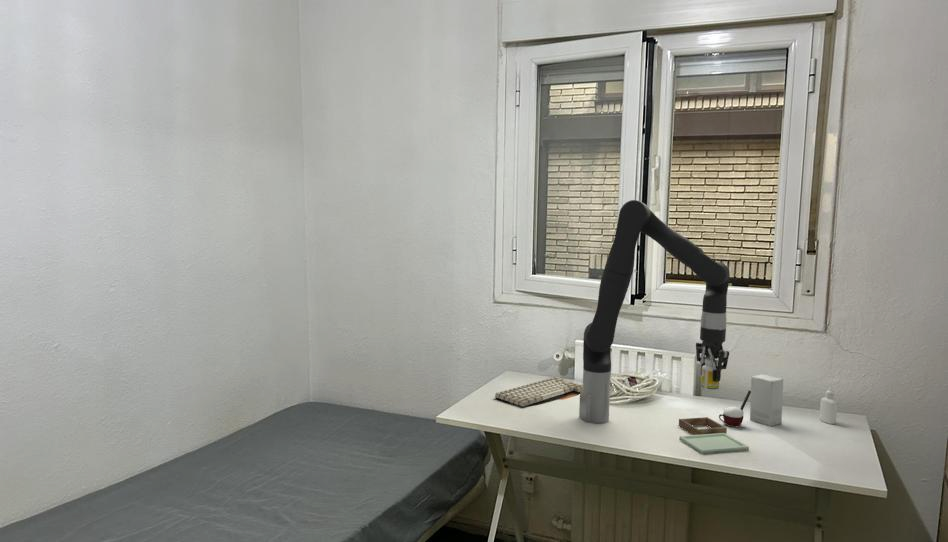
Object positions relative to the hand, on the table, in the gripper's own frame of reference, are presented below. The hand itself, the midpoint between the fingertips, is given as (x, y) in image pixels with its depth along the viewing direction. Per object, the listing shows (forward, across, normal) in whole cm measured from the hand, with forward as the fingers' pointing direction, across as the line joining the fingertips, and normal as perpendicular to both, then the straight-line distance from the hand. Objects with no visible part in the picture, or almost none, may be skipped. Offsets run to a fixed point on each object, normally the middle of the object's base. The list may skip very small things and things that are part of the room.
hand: (710, 378), depth 203 cm
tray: (+19, +8, -3) cm, 20 cm away
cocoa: (+19, -7, +15) cm, 25 cm away
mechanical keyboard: (+19, -53, -36) cm, 66 cm away
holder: (+19, -4, +1) cm, 19 cm away
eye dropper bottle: (+19, -3, +50) cm, 54 cm away
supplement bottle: (+4, 0, 0) cm, 4 cm away
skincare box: (+19, -8, +28) cm, 35 cm away
